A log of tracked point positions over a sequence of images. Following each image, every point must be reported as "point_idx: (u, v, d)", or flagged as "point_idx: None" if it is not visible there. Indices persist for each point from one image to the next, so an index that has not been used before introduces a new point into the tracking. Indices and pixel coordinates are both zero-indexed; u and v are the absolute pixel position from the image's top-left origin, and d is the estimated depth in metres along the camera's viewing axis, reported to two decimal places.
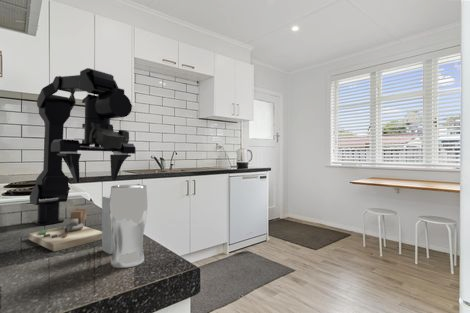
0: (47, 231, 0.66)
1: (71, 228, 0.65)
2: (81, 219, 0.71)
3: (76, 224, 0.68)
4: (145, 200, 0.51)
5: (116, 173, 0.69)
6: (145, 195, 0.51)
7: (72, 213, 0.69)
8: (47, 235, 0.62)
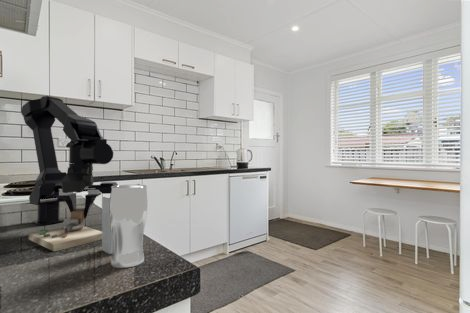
0: (47, 231, 0.66)
1: (71, 228, 0.65)
2: (81, 219, 0.71)
3: (76, 224, 0.68)
4: (145, 200, 0.51)
5: (85, 212, 0.73)
6: (145, 195, 0.51)
7: (72, 213, 0.69)
8: (47, 235, 0.62)
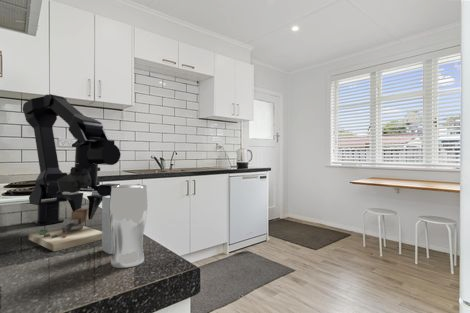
0: (47, 231, 0.66)
1: (70, 228, 0.65)
2: (82, 219, 0.71)
3: (76, 224, 0.68)
4: (145, 200, 0.51)
5: (89, 213, 0.72)
6: (145, 195, 0.51)
7: (73, 213, 0.70)
8: (47, 235, 0.62)
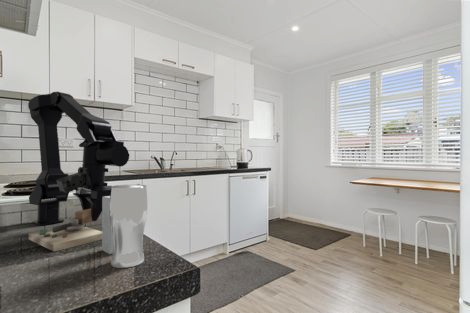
0: (47, 231, 0.66)
1: (64, 228, 0.65)
2: (84, 220, 0.70)
3: (74, 224, 0.67)
4: (145, 200, 0.51)
5: (91, 214, 0.71)
6: (145, 195, 0.51)
7: (76, 213, 0.70)
8: (47, 235, 0.62)
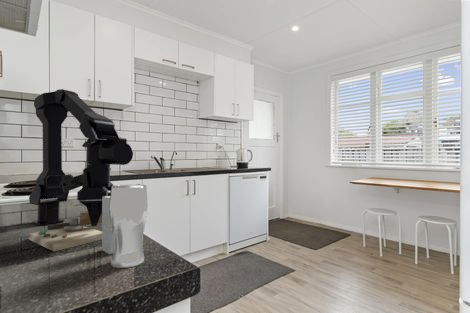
0: (47, 231, 0.66)
1: (60, 227, 0.66)
2: (84, 221, 0.68)
3: (71, 225, 0.67)
4: (145, 200, 0.51)
5: None
6: (145, 195, 0.51)
7: (80, 213, 0.70)
8: (47, 235, 0.62)
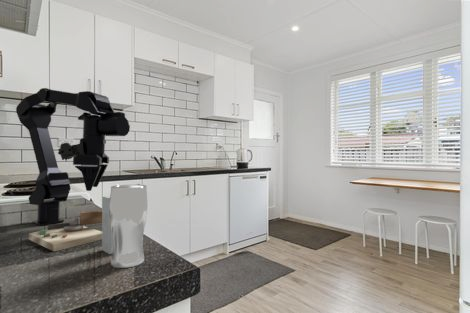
0: (47, 231, 0.66)
1: (60, 227, 0.66)
2: (84, 221, 0.68)
3: (71, 225, 0.67)
4: (145, 200, 0.51)
5: None
6: (145, 195, 0.51)
7: (80, 213, 0.70)
8: (47, 235, 0.62)
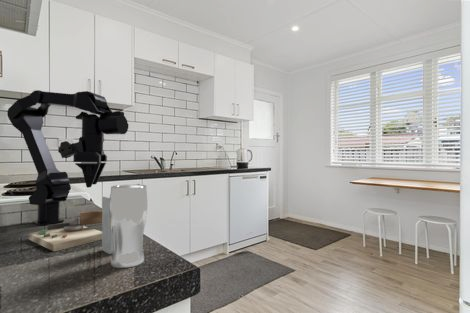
0: (47, 231, 0.66)
1: (60, 227, 0.66)
2: (84, 221, 0.68)
3: (71, 225, 0.67)
4: (145, 200, 0.51)
5: None
6: (145, 195, 0.51)
7: (80, 213, 0.70)
8: (47, 235, 0.62)
